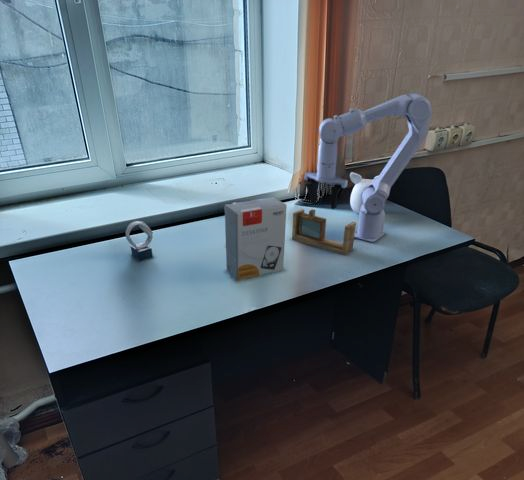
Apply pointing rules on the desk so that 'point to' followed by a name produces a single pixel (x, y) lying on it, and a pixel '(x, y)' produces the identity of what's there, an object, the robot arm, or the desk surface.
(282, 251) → the hard drive box
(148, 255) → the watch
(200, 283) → the desk surface
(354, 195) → the piggy bank
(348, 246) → the window frame
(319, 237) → the sash
